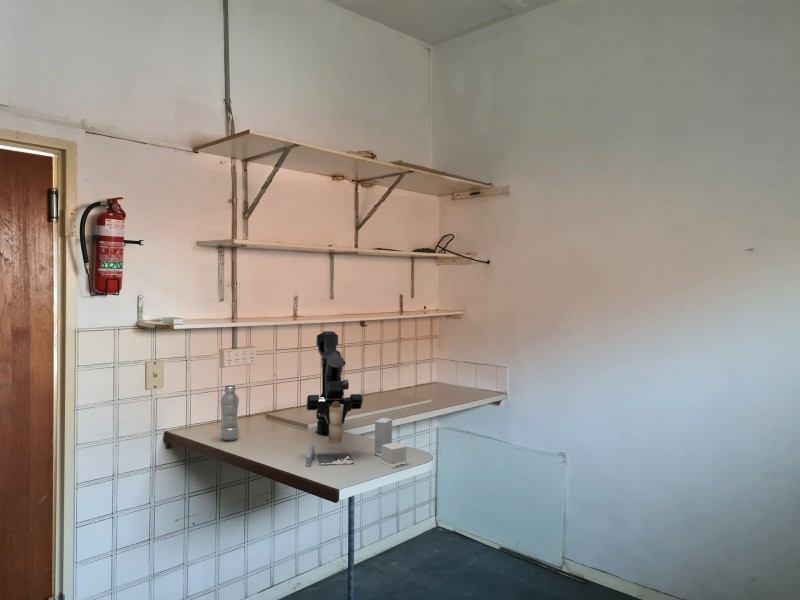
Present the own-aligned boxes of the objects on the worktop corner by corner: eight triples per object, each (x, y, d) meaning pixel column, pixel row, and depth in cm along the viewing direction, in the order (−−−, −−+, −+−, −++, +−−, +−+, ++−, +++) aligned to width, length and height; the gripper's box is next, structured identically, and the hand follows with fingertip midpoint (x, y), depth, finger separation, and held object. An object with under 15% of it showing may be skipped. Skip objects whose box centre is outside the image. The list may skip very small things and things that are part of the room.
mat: (317, 455, 200) (317, 454, 200) (349, 453, 203) (349, 452, 202) (319, 465, 189) (319, 464, 189) (353, 464, 192) (353, 462, 192)
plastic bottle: (240, 440, 215) (241, 387, 214) (222, 443, 212) (222, 388, 211) (236, 436, 221) (237, 384, 220) (218, 438, 217) (218, 385, 217)
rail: (310, 453, 202) (311, 444, 202) (314, 453, 202) (314, 444, 202) (306, 466, 188) (306, 457, 188) (309, 466, 188) (309, 457, 188)
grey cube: (391, 467, 189) (392, 449, 189) (380, 462, 194) (381, 445, 194) (406, 464, 193) (406, 446, 193) (394, 459, 198) (395, 442, 198)
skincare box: (380, 450, 207) (381, 417, 207) (391, 452, 206) (392, 418, 205) (373, 455, 202) (374, 421, 201) (385, 457, 200) (386, 422, 200)
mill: (332, 439, 199) (332, 398, 198) (343, 441, 197) (344, 400, 197) (326, 442, 194) (327, 401, 194) (338, 444, 193) (339, 402, 192)
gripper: (307, 371, 197) (309, 411, 186) (362, 370, 201) (366, 410, 190) (306, 389, 205) (307, 429, 194) (358, 389, 209) (362, 427, 198)
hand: (336, 423), depth 194 cm, fingers closed on mill, 4 cm apart
